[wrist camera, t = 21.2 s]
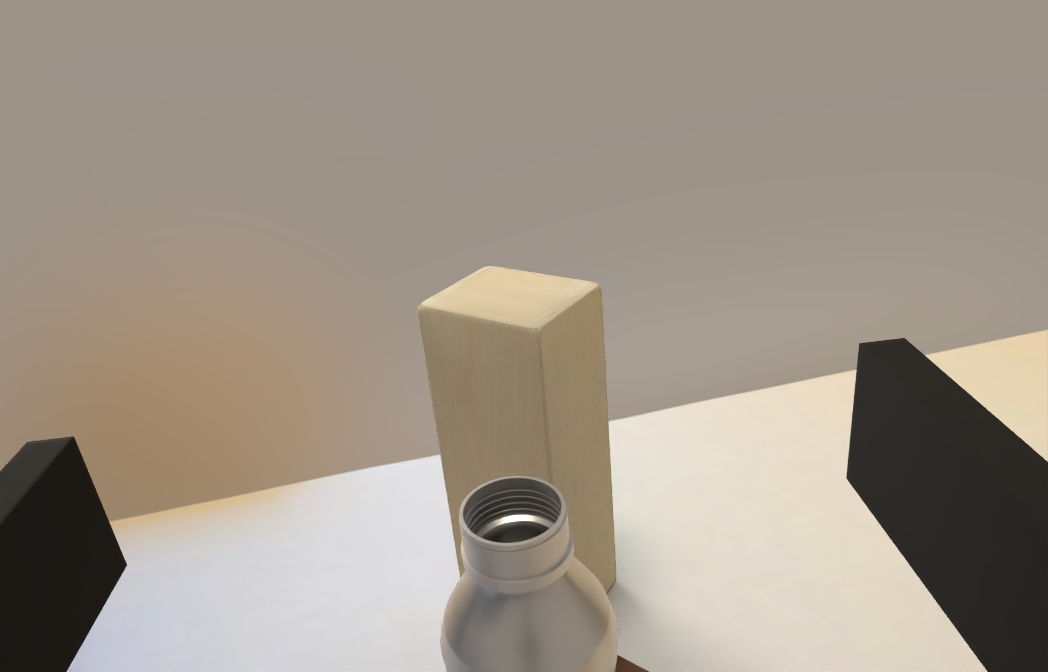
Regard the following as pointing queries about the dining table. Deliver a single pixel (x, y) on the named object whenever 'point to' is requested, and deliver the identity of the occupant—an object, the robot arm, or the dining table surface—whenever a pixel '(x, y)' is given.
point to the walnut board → (627, 666)
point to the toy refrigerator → (524, 396)
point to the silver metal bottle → (524, 588)
